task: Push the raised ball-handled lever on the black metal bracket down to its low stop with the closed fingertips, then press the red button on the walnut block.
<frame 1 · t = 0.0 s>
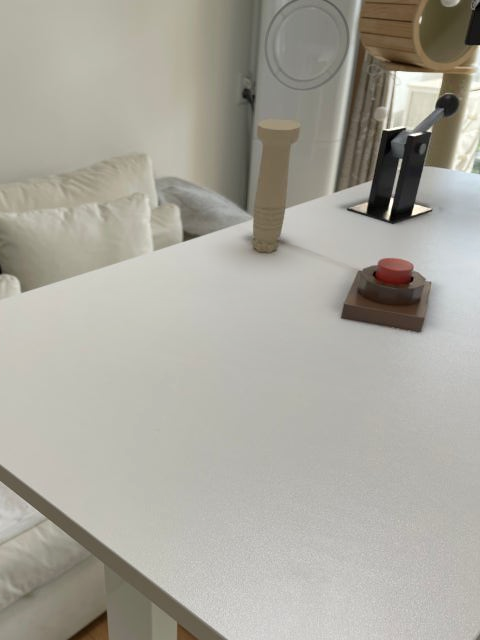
button block: (385, 306, 70), on the table
handle: (264, 251, 84), on the table
lever: (426, 124, 92), point 12 cm above the table, hinge at 25.0°
button: (394, 272, 68), point 4 cm above the table, slide at 0.1 cm
bracket: (388, 216, 96), on the table
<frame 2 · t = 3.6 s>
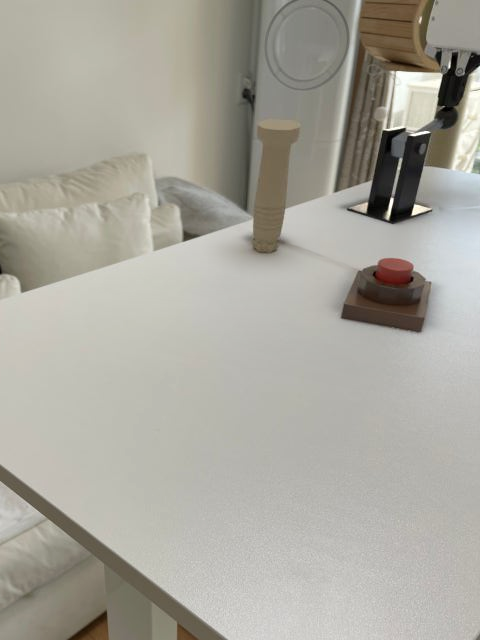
hand: (447, 105, 93), 14 cm above the table, tool pointing down, fingers closed
lever: (425, 130, 92), point 11 cm above the table, hinge at 14.6°, touching gripper
everything else where it was.
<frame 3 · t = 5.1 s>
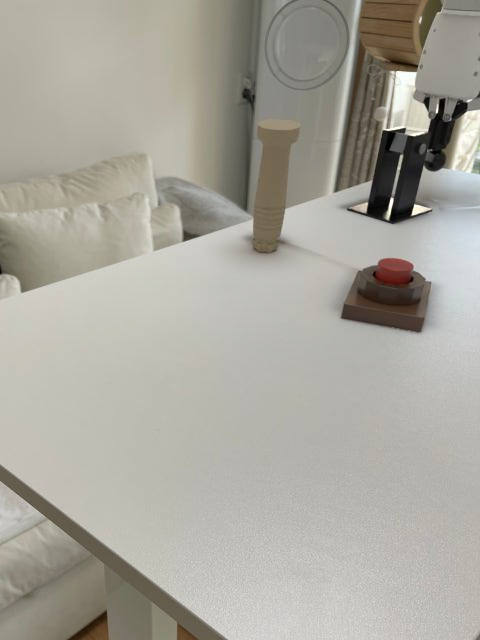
hand: (435, 148, 97), 8 cm above the table, tool pointing down, fingers closed
lever: (420, 153, 94), point 8 cm above the table, hinge at -19.3°, touching gripper
everything else where it was.
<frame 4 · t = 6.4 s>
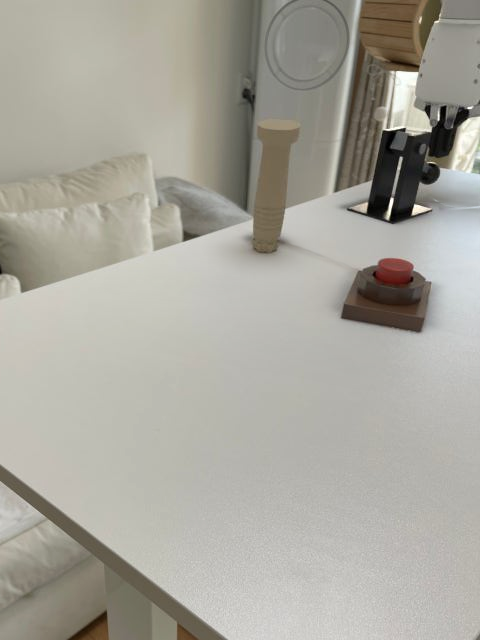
hand: (438, 155, 97), 7 cm above the table, tool pointing down, fingers closed
lever: (417, 160, 94), point 7 cm above the table, hinge at -30.6°
everything else where it was.
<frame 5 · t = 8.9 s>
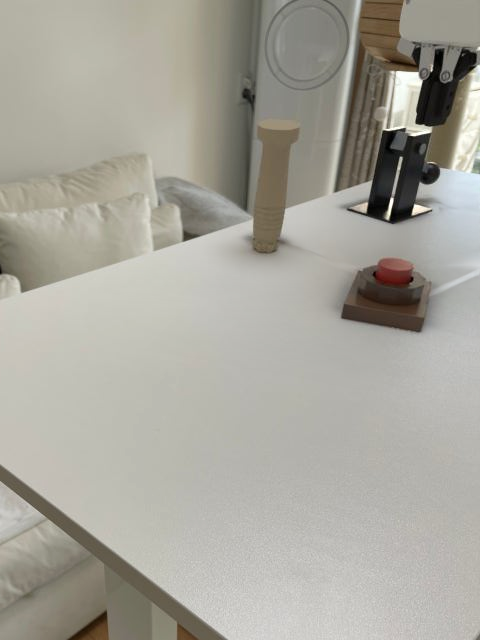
hand: (430, 124, 67), 17 cm above the table, tool pointing down, fingers closed
nothing on the table moved.
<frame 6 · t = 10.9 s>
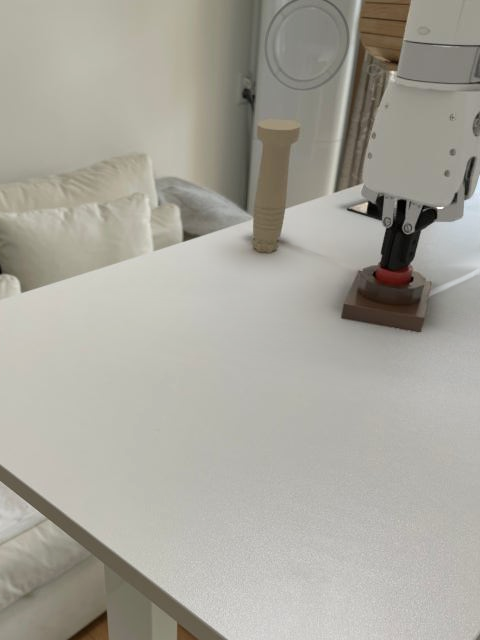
hand: (394, 266, 68), 5 cm above the table, tool pointing down, fingers closed
button: (393, 274, 68), point 4 cm above the table, slide at -0.1 cm, touching gripper
everything else where it was.
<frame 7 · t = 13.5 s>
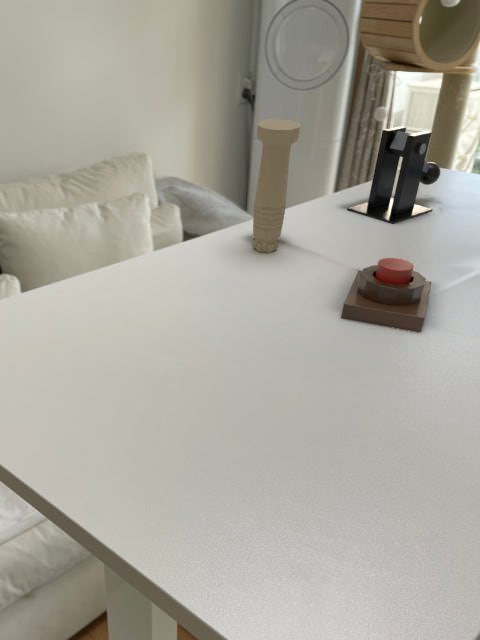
button: (394, 271, 68), point 4 cm above the table, slide at 0.1 cm
everything else where it was.
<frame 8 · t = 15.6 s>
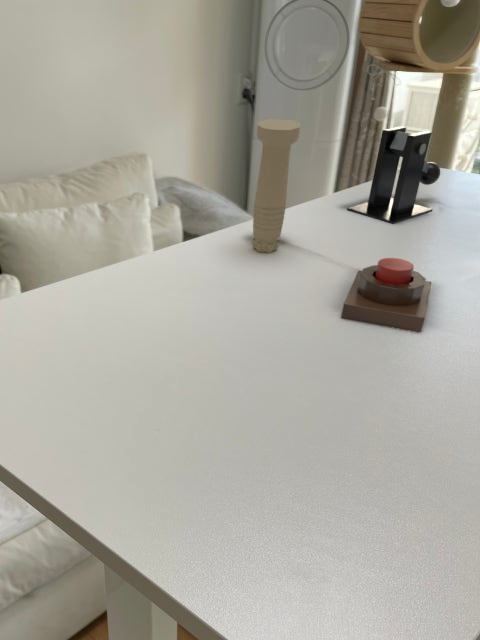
nothing on the table moved.
at the end: lever at -31° (first picture: +25°); button pushed in 1.1 cm at the most during the clip, back to where it started at the end; button slide at 0.1 cm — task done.
